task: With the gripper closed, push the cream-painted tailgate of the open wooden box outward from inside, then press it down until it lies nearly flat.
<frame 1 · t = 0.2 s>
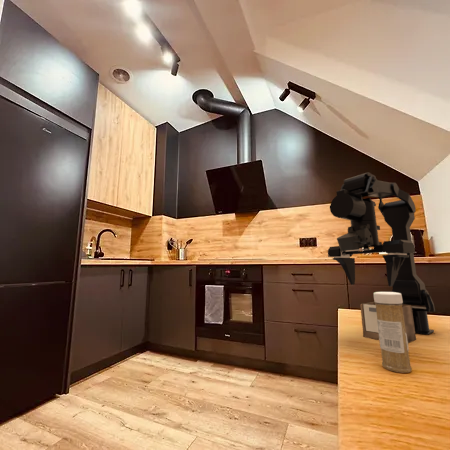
hand: (370, 285, 60), 14 cm above the counter, tool pointing down, fingers open, 9 cm apart
open wooden box: (389, 338, 66), on the counter
sprinkles bottle: (396, 370, 45), on the counter
tailgate: (381, 319, 65), point 5 cm above the counter, hinge at 0.0°
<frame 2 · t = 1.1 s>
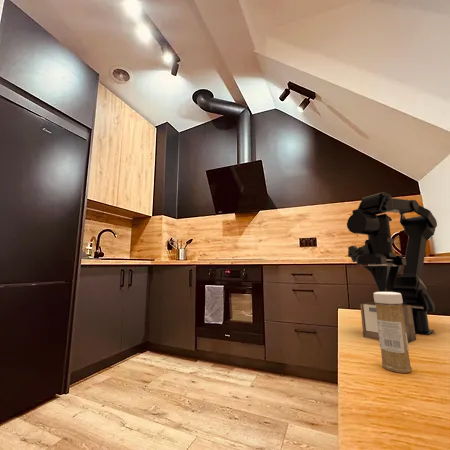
hand: (385, 291, 69), 12 cm above the counter, tool pointing down, fingers open, 5 cm apart
nothing on the counter moved.
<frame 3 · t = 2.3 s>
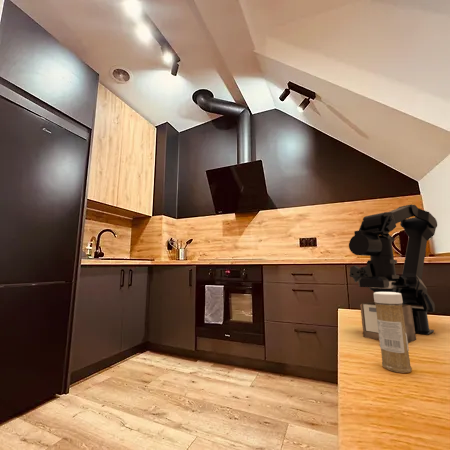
hand: (388, 313, 68), 6 cm above the counter, tool pointing down, fingers closed
nothing on the counter moved.
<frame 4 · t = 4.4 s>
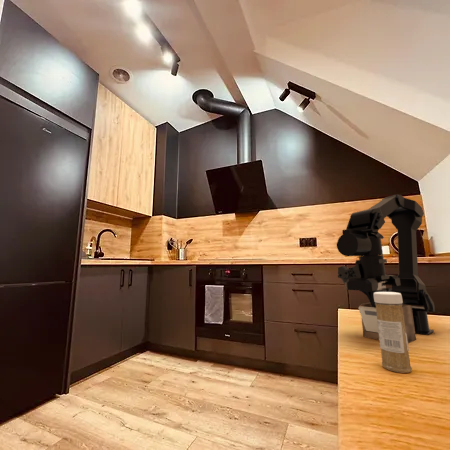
hand: (378, 316, 64), 6 cm above the counter, tool pointing down, fingers closed, pressing on tailgate
tailgate: (378, 320, 64), point 5 cm above the counter, hinge at 25.4°, touching gripper
everything else where it was.
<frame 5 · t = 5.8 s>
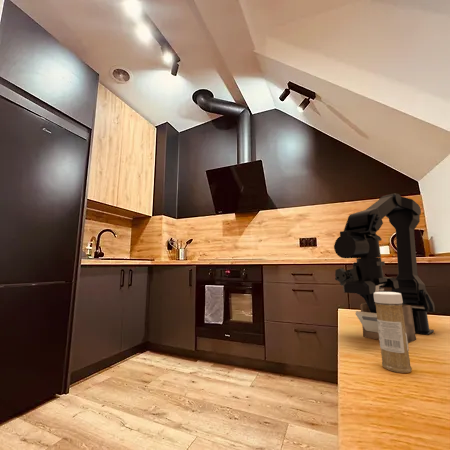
hand: (376, 319, 63), 5 cm above the counter, tool pointing down, fingers closed, pressing on tailgate
tailgate: (377, 323, 63), point 4 cm above the counter, hinge at 45.4°, touching gripper
everything else where it was.
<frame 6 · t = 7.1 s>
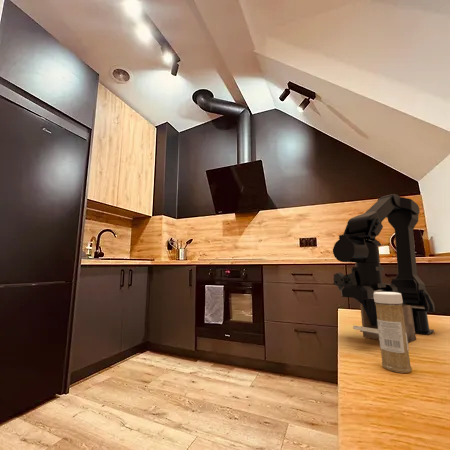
hand: (374, 326, 62), 4 cm above the counter, tool pointing down, fingers closed
tailgate: (375, 331, 62), point 3 cm above the counter, hinge at 79.3°
everything else where it was.
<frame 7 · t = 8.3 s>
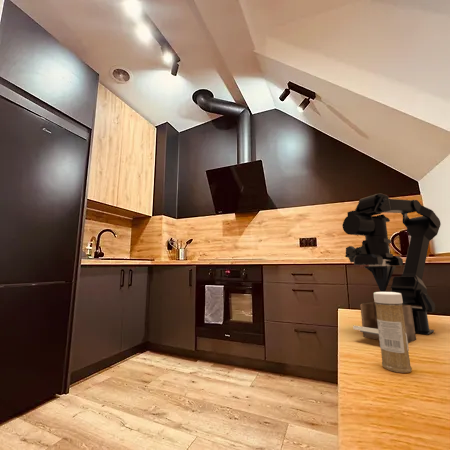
hand: (382, 291, 70), 12 cm above the counter, tool pointing down, fingers closed
nothing on the counter moved.
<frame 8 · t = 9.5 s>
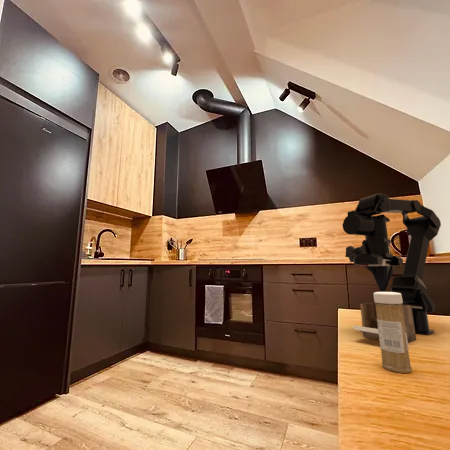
hand: (382, 291, 70), 12 cm above the counter, tool pointing down, fingers closed
nothing on the counter moved.
at the end: tailgate at +80° (first picture: +0°); sprinkles bottle moved 0.2 cm from its start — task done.
